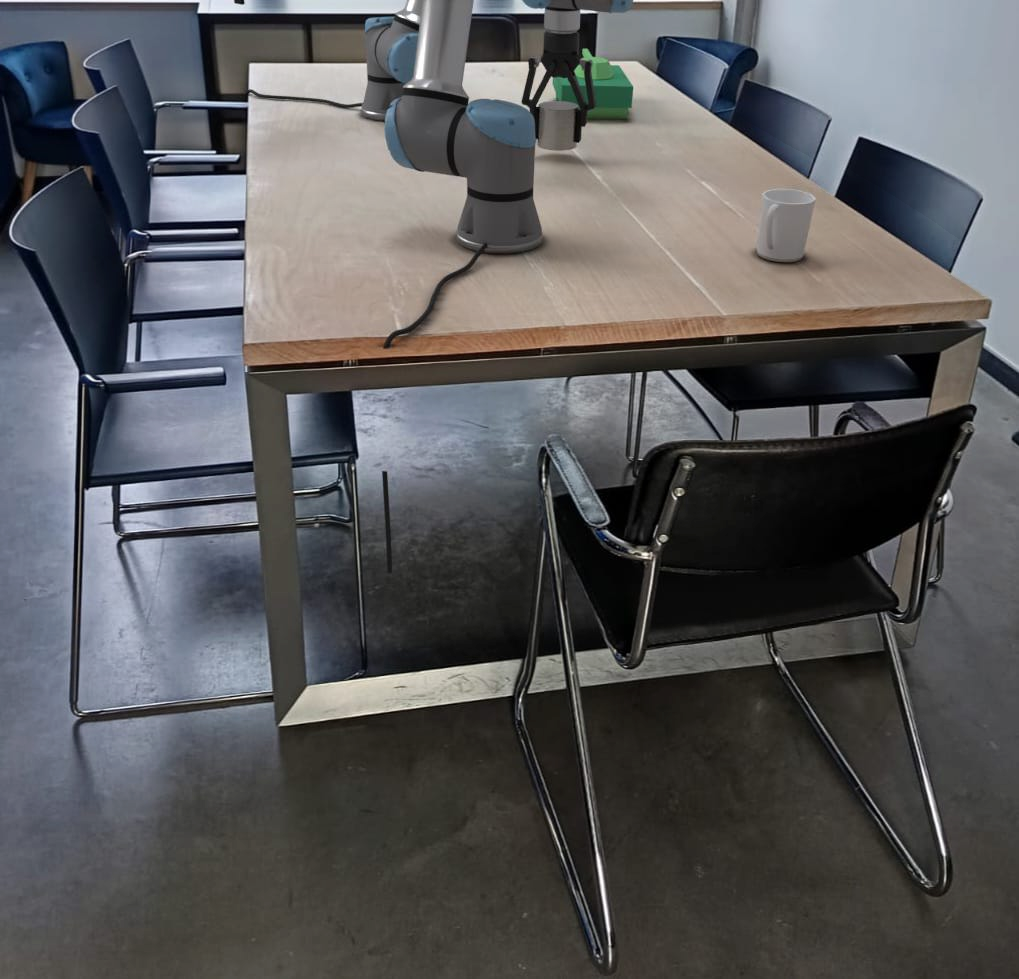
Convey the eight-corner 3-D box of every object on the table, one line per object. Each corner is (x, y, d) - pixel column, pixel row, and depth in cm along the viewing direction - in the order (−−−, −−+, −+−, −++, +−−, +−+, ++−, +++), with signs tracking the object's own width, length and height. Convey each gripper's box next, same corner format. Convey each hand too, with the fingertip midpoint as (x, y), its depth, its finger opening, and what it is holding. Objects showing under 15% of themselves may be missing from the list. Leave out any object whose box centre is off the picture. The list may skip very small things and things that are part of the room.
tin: (577, 141, 247) (579, 101, 242) (575, 151, 239) (578, 110, 235) (538, 139, 247) (540, 100, 243) (536, 149, 240) (537, 109, 235)
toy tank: (616, 45, 298) (634, 70, 268) (612, 92, 304) (630, 122, 275) (551, 43, 297) (563, 69, 267) (549, 91, 303) (560, 121, 274)
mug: (769, 242, 197) (777, 185, 192) (814, 254, 192) (824, 196, 187) (738, 258, 190) (746, 199, 184) (785, 270, 185) (795, 210, 180)
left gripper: (215, -107, 218) (227, 8, 230) (314, -110, 234) (321, -3, 245) (194, -109, 223) (207, 4, 234) (293, -112, 238) (300, -6, 250)
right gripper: (614, 30, 232) (607, 139, 244) (515, 25, 236) (513, 132, 248) (609, 36, 226) (602, 147, 238) (508, 30, 229) (506, 140, 241)
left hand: (265, 1), depth 240 cm, fingers open, 13 cm apart
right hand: (557, 139), depth 243 cm, fingers closed on tin, 9 cm apart
